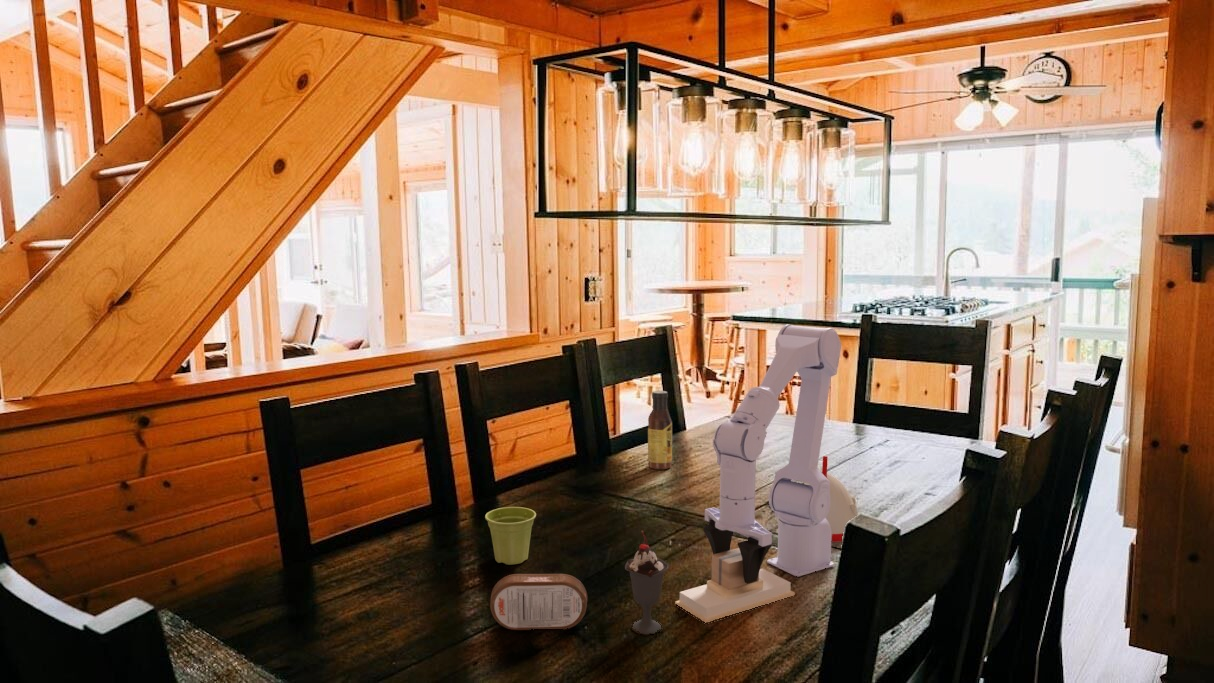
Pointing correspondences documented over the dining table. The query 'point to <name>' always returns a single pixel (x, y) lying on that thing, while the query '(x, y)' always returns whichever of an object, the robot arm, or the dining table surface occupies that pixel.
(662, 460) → the sauce bottle
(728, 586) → the taped parcel
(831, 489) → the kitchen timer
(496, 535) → the plant pot
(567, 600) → the tin
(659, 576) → the sundae
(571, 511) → the dining table surface
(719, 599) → the dock
